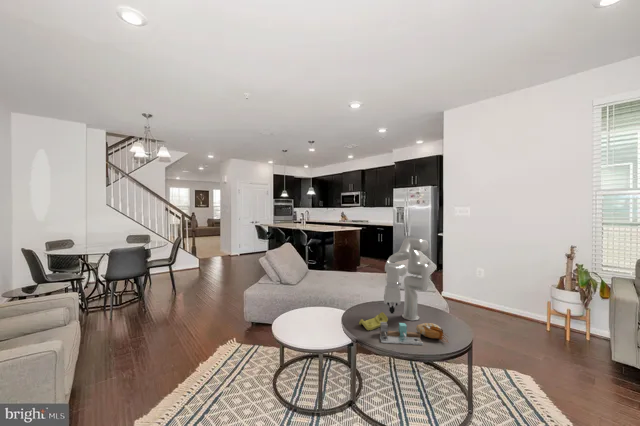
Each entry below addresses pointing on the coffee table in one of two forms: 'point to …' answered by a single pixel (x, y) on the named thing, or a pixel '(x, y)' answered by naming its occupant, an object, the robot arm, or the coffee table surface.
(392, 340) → the bolt plate
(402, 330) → the block
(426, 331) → the nautilus
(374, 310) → the coffee table surface
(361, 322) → the plastic component
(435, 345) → the coffee table surface
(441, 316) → the coffee table surface
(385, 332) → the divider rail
